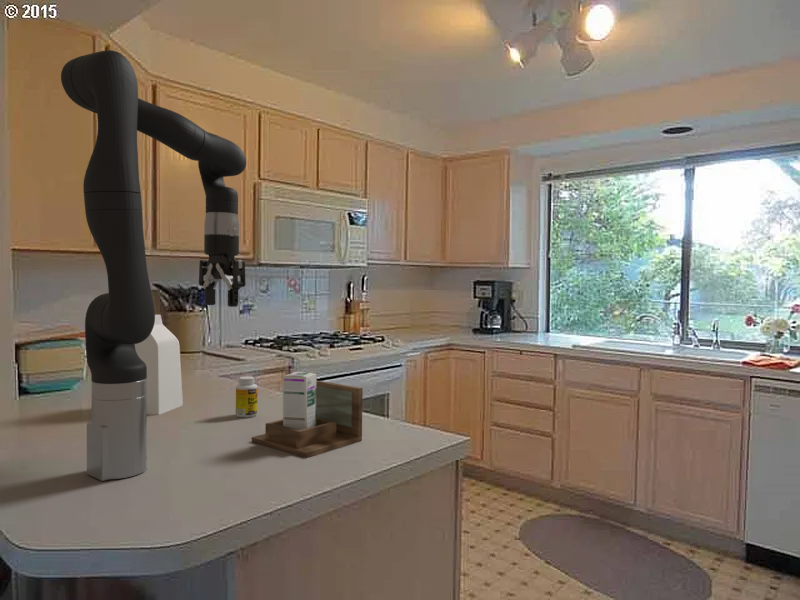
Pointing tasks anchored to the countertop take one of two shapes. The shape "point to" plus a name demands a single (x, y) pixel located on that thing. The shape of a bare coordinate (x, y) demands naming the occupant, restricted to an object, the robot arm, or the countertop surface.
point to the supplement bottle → (246, 397)
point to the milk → (161, 369)
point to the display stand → (321, 423)
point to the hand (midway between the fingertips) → (221, 305)
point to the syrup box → (299, 400)
